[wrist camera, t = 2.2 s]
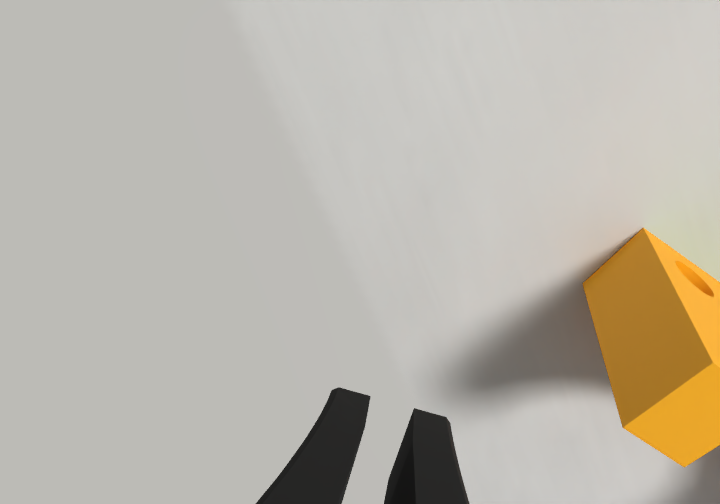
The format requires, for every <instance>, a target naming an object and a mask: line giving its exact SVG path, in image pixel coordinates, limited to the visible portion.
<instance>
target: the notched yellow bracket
mask: <svg viewBox="0 0 720 504" xmlns="http://www.w3.org/2000/svg"><path fill="white" fill-rule="evenodd" d="M583 287H584V291H585V294H586V298H587V302H588V305H589V309H590V312H591V316H592V319H593V323H594V327H595V330H596V334H597V337H598V341H599V344H600V348H601V352H602V355H603V359H604V362H605V366H606V369H607V373H608V377H609V380H610V384H611V387H612V391H613V394H614V398H615V402H616V405H617V409H618V412H619V416H620V419H621V423H622V427H623V428H624V429H626V430H627V431H629V432H630V433H632V434H633V435H635V436H637V437H638V438H640V439H641V440H643V441H644V442H646V443H647V444H649V445H650V446H652V447H654V448H655V449H657V450H658V451H660V452H661V453H663V454H664V455H666V456H667V457H669V458H671V459H672V460H674V461H675V462H677V463H678V464H680V465H681V466H683V467H686V466H687V465H689V464H691V463H692V462H694V461H695V460H697V459H698V458H700V457H702V456H703V455H705V454H706V453H708V452H709V451H711V450H713V449H714V448H716V447H717V446H719V445H720V282H718V281H717V280H716V279H714V278H713V277H711V276H710V275H709V274H707V273H706V272H704V271H703V270H702V269H700V268H699V267H697V266H696V265H695V264H693V263H692V262H690V261H689V260H688V259H686V258H685V257H683V256H682V255H681V254H679V253H678V252H677V251H675V250H674V249H672V248H671V247H670V246H668V245H667V244H665V243H664V242H663V241H661V240H660V239H658V238H657V237H656V236H654V235H653V234H651V233H650V232H649V231H647V230H646V229H644V228H642V229H641V230H640V231H639V232H638V233H637V234H636V235H635V236H634V237H633V238H632V239H631V240H629V241H628V242H627V243H626V244H625V245H624V246H623V247H622V248H621V249H620V250H619V251H617V252H616V253H615V254H614V255H613V256H612V257H611V258H610V259H609V260H608V261H607V262H605V263H604V264H603V265H602V266H601V267H600V268H599V269H598V270H597V271H596V272H595V273H593V274H592V275H591V276H590V277H589V278H588V279H587V280H586V281H585V282H584V283H583Z"/></svg>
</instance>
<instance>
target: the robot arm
mask: <svg viewBox="0 0 720 504" xmlns="http://www.w3.org/2000/svg"><path fill="white" fill-rule="evenodd" d="M369 400H370V396H368V395H364V394H361V393H357V392H353V391H350V390H346V389H342V388H336V389H334V390H332V391H331V393H330V396H329V398H328V401H327V403H326V405H325V407H324V409H323V411H322V413H321V415H320V416H319V418H318V420H317V421H316V423H315V425H314V426H313V428H312V429H311V431H310V433H309V434H308V436H307V437H306V439H305V440H304V442H303V443H302V445H301V446H300V447H299V449H298V450H297V451H296V453H295V455H294V456H293V457H292V458H291V460H290V461H289V463H288V464H287V466H286V467H285V468H284V470H283V471H282V472H281V473H280V475H279V476H278V477H277V479H276V480H275V481H274V482H273V484H272V485H271V486H270V487H269V488H268V489H267V491H266V492H265V493H264V494H263V496H262V497H261V498H260V499H259V500H258V502H257V503H256V504H341V503H342V500H343V497H344V494H345V490H346V487H347V484H348V480H349V477H350V474H351V471H352V467H353V464H354V461H355V457H356V454H357V451H358V448H359V444H360V441H361V437H362V434H363V431H364V428H365V423H366V417H367V412H368V407H369ZM384 504H469V501H468V498H467V494H466V491H465V487H464V483H463V480H462V476H461V472H460V468H459V464H458V460H457V456H456V451H455V447H454V442H453V437H452V432H451V426H450V422H449V421H448V419H447V418H446V417H443V416H440V415H436V414H433V413H429V412H425V411H422V410H418V409H415V408H414V410H413V413H412V416H411V418H410V421H409V424H408V427H407V429H406V432H405V435H404V438H403V441H402V443H401V446H400V449H399V452H398V455H397V458H396V460H395V463H394V466H393V469H392V471H391V474H390V477H389V480H388V485H387V491H386V496H385V501H384Z"/></svg>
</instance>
